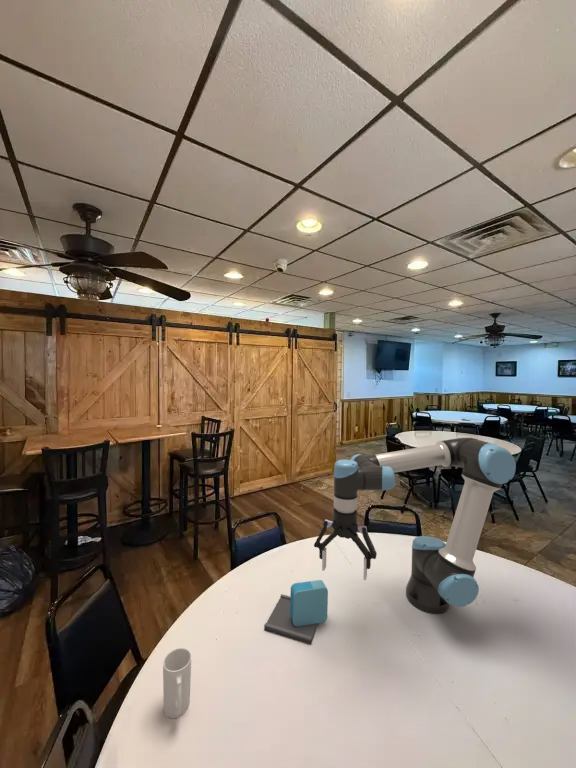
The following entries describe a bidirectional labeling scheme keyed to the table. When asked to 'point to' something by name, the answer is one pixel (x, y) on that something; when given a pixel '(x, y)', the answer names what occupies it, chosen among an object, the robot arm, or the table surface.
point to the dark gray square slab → (288, 623)
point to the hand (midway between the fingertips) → (344, 572)
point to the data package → (308, 603)
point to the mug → (176, 682)
